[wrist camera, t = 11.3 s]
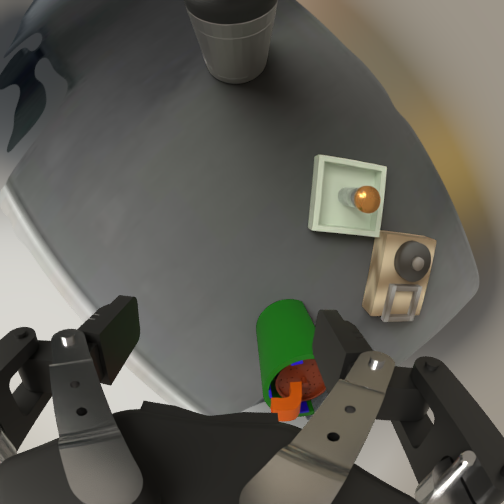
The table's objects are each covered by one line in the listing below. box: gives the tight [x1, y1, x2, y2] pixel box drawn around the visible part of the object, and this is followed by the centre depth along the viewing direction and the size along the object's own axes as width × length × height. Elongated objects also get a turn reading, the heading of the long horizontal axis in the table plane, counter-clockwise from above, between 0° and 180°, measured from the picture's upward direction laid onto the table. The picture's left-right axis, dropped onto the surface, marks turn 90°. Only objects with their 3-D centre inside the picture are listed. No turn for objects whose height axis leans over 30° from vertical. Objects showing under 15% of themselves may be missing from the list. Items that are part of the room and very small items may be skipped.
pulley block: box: [362, 230, 436, 322], centre depth 40 cm, size 14×10×7 cm
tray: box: [308, 155, 387, 237], centre depth 39 cm, size 11×11×3 cm
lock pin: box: [338, 186, 381, 214], centre depth 35 cm, size 3×3×8 cm
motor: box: [256, 299, 326, 421], centre depth 35 cm, size 10×9×20 cm
